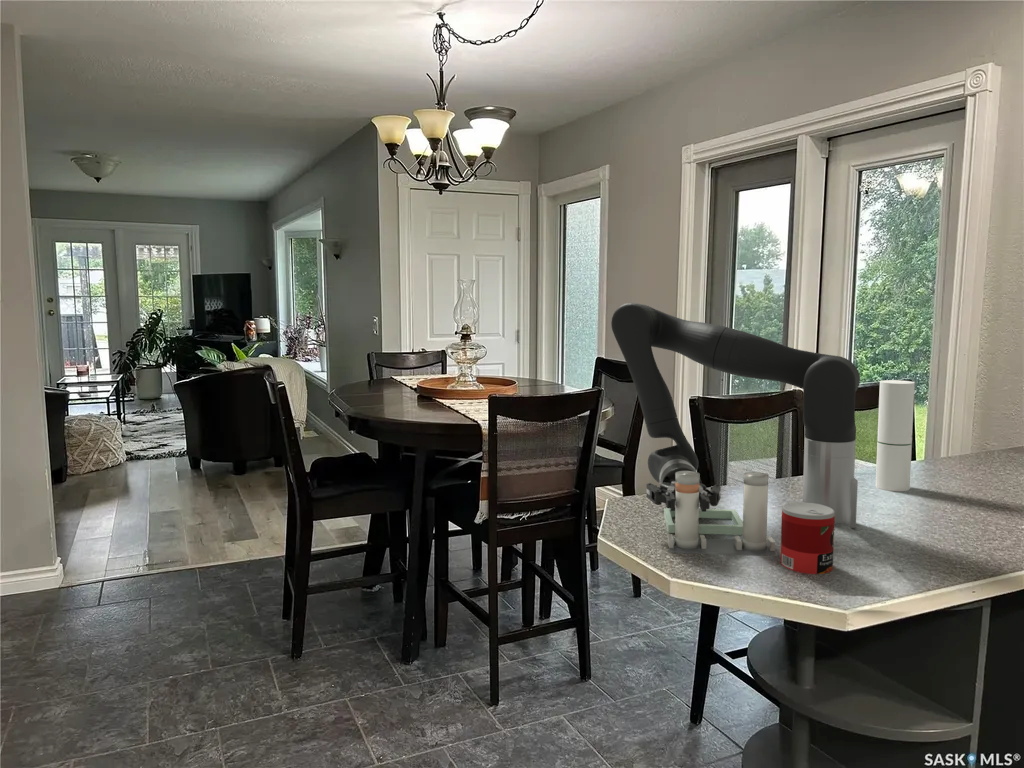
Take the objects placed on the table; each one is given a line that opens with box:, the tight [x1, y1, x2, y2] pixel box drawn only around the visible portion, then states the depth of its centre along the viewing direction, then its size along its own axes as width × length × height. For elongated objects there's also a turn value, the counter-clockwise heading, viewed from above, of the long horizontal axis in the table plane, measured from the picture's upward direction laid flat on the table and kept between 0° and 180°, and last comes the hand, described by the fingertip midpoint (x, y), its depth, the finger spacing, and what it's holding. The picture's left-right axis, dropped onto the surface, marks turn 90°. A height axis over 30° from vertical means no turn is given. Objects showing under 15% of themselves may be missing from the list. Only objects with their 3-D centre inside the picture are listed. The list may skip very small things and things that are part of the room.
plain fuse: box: [741, 471, 770, 551], centre depth 127 cm, size 4×4×13 cm
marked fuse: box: [674, 471, 701, 549], centre depth 129 cm, size 4×4×13 cm
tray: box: [663, 507, 743, 536], centre depth 141 cm, size 14×11×3 cm
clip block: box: [666, 533, 779, 557], centre depth 129 cm, size 18×8×3 cm, turn 82°
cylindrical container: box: [875, 379, 915, 492], centre depth 171 cm, size 7×7×25 cm
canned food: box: [780, 501, 835, 575], centre depth 119 cm, size 8×8×11 cm
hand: (688, 505), depth 126 cm, fingers open, 4 cm apart
